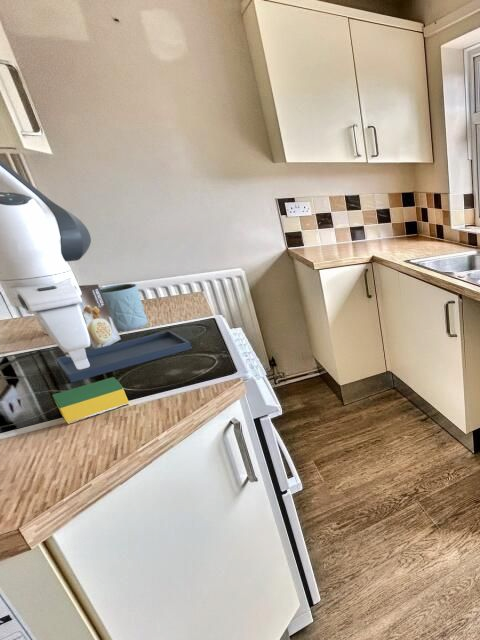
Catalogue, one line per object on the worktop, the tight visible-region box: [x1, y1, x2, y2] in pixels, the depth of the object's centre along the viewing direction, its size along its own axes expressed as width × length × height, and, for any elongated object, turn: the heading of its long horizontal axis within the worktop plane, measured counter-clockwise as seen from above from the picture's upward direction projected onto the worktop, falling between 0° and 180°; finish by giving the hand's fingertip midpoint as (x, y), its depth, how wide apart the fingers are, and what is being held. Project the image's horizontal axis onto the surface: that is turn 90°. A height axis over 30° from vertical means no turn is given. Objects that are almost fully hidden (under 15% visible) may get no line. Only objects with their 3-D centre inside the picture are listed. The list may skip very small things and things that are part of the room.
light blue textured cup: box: [99, 283, 149, 332], centre depth 126 cm, size 10×10×12 cm
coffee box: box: [78, 283, 122, 351], centre depth 110 cm, size 9×6×16 cm
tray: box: [54, 330, 192, 384], centre depth 106 cm, size 23×15×2 cm, turn 143°
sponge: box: [51, 376, 130, 424], centre depth 82 cm, size 9×6×4 cm, turn 143°
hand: (77, 361), depth 79 cm, fingers open, 8 cm apart
